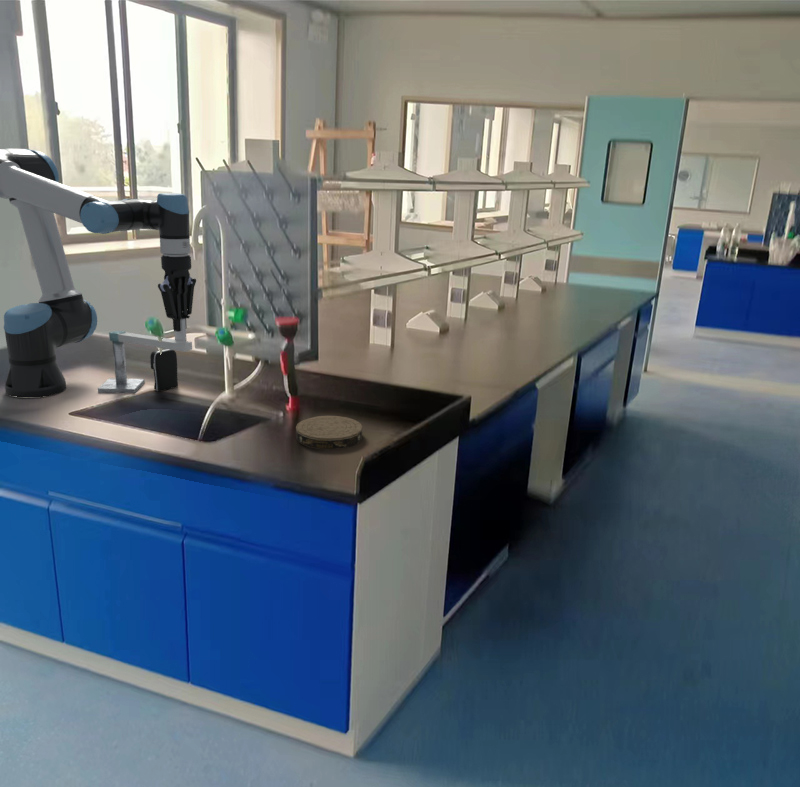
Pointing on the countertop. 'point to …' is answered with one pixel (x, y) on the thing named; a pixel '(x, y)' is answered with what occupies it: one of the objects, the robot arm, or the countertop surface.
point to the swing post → (120, 375)
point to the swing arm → (150, 341)
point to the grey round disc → (329, 432)
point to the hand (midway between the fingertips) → (180, 342)
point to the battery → (164, 369)
